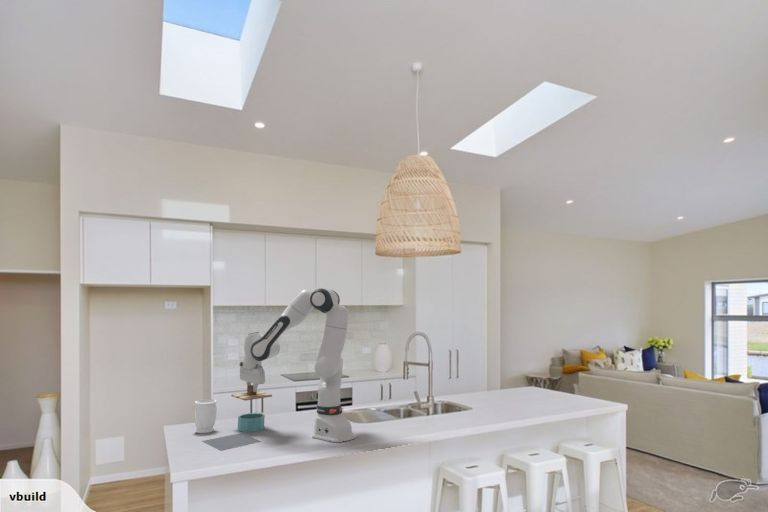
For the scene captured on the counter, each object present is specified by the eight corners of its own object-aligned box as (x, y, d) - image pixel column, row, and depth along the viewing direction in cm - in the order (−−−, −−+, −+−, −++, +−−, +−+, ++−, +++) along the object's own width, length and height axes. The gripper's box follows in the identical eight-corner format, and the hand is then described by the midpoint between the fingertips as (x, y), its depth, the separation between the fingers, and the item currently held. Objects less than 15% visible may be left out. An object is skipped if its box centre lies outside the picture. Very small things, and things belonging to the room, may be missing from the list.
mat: (261, 442, 223) (261, 441, 223) (220, 451, 209) (220, 450, 210) (241, 434, 238) (241, 433, 238) (201, 442, 224) (201, 441, 224)
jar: (206, 435, 236) (207, 403, 237) (189, 433, 239) (190, 402, 240) (220, 429, 246) (221, 399, 247) (203, 428, 249) (204, 398, 250)
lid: (272, 396, 248) (272, 385, 248) (245, 400, 237) (245, 389, 238) (257, 392, 259) (257, 382, 259) (231, 396, 248) (231, 385, 249)
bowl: (268, 429, 247) (269, 416, 247) (245, 434, 238) (245, 420, 238) (256, 424, 256) (256, 412, 257) (233, 429, 247) (233, 416, 248)
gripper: (268, 365, 244) (267, 393, 243) (248, 361, 259) (248, 387, 258) (257, 366, 240) (256, 394, 239) (237, 362, 255) (237, 389, 253)
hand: (252, 391), depth 248 cm, fingers closed on lid, 3 cm apart
